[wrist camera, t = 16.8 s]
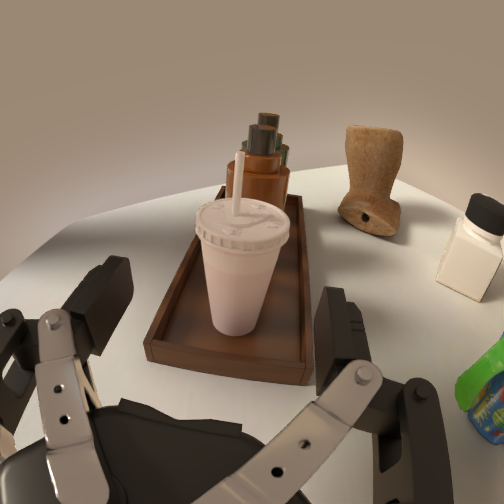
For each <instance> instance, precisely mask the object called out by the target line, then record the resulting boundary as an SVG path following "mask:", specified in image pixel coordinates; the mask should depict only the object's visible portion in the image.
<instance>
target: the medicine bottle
mask: <svg viewBox="0 0 504 504" xmlns="http://www.w3.org/2000/svg"><path fill="white" fill-rule="evenodd" d="M503 235H504V205H503V204H502V203H500V202H499V201H498V200H496V199H494V198H492V197H490V196H488V195H485V194H482V193H475V194H473V195H472V196H471V199H470V202H469V205H468V207H467V210H466V213H465V216H464V218H460V217H458V218H457V220H456V223H455V226H454V228H453V231H452V233H451V236H450V238H449V241H448V243H447V246H446V248H445V251H444V253H443V255H442V258H441V262H440V266H439V270H438V274H437V278H436V280H437V282H439V283H441V284H443V285H445V286H447V287H449V288H451V289H453V290H455V291H457V292H459V293H461V294H463V295H465V296H467V297H469V298H471V299H473V300H475V301H477V302H480V301H481V299H482V298H483V296H484V294H485V292H486V290H487V289H488V287H489V285H490V283H491V281H492V279H493V277H494V275H495V274H496V272H497V270H498V268H499V266H500V264H501V262H502V259H503V253H502V249H501V244H500V241H501V239H502V237H503Z"/></svg>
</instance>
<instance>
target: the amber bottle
mask: <svg viewBox="0 0 504 504" xmlns="http://www.w3.org/2000/svg"><path fill="white" fill-rule="evenodd" d="M276 136H277V128H275V127H272V126H268V125H250V126H249V132H248V142H247V148H243V149H241V150H240V151H241V152H245V160H244V171H243V182H242V193H241V198H248V199H255V200H259V201H263V202H266V203H269V204H271V205H274V206H276V207H277V208H279V209H281V210H282V211H283V212H284V210H285V203H286V197H287V190H288V183H289V177H290V170H289V169H288V168H287V167H285V166H284V165H282V164H281V157H282V155H281V154H280V153H279V152H277V151H275V144H276ZM234 170H235V160H234V161H232V162H230V163H229V164H228V165H227V179H226V194H225V198H232V196H233V183H234Z"/></svg>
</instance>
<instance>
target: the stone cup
mask: <svg viewBox="0 0 504 504" xmlns="http://www.w3.org/2000/svg"><path fill="white" fill-rule="evenodd" d="M345 151H346V157H347V164H348V171H349V179H350V190H349V192H348V193H347V194H346V195H345V197H344V198H343V200H342V202H341V204H340V206H339V207H338V210H337V211H338V213H339V214H340V215H341V216H342V217H343V218H344V219H346V220H347V221H348V222H349V223H351V224H352V225H353V226H355V227H356V228H358V229H360V230H362V231H365V232H367V233H371V234H376V235H386V236H391V235H394V234H396V232H397V229H398V226H399V220H400V214H401V209H400V205H399V204H398V203H397V202H395V201H394V200H392V199H390V193H391V190H392V186H393V183H394V180H395V178H396V175H397V173H398V171H399V168H400V165H401V160H402V152H403V136H402V134H401V133H400V132H399V131H397V130H392V129H386V128H379V127H367V126H358V125H349V126H348V127H347V130H346V141H345Z"/></svg>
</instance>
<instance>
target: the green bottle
mask: <svg viewBox="0 0 504 504" xmlns="http://www.w3.org/2000/svg"><path fill="white" fill-rule="evenodd" d="M279 118H280V116H279V115H277V114H271V113H259V114H258V124H257V125H268V126H272V127H275V128H277V136H276V144H275V151H277V152H279V153H280V154H281V155H282V157H281V164H282V165H284V166H285V167H287V163H288V156H289V147H288V146H287V145H285V144H282V139H283V135H282V134H279V133H278V126H279ZM247 142H248V140H247V141H244V142H242V147H241V149H243V148H247Z"/></svg>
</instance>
